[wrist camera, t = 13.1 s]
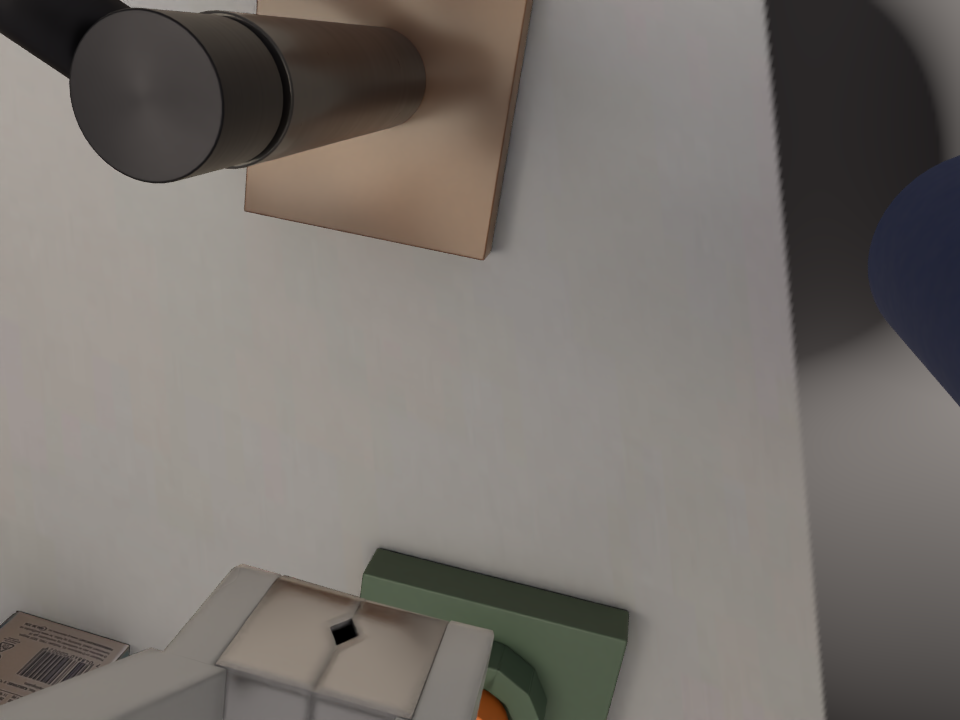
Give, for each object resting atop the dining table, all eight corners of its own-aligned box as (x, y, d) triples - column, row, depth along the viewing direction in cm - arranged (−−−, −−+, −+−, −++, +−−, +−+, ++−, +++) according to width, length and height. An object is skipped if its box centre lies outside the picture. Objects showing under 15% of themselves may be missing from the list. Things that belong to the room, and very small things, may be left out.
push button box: (629, 610, 39) (626, 669, 35) (585, 775, 43) (578, 844, 39) (377, 547, 41) (349, 596, 37) (354, 711, 44) (327, 771, 41)
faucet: (490, 252, 35) (392, 369, 22) (259, 205, 36) (37, 289, 23) (545, -74, 31) (463, -168, 18) (281, -115, 32) (23, -231, 19)
